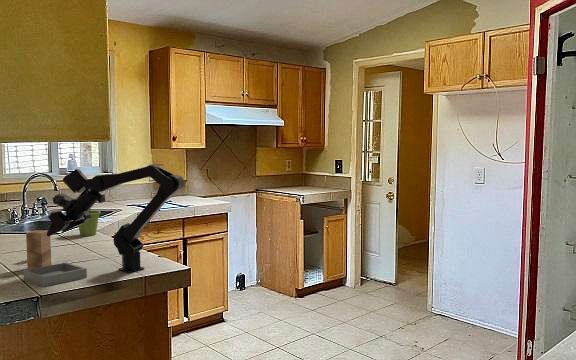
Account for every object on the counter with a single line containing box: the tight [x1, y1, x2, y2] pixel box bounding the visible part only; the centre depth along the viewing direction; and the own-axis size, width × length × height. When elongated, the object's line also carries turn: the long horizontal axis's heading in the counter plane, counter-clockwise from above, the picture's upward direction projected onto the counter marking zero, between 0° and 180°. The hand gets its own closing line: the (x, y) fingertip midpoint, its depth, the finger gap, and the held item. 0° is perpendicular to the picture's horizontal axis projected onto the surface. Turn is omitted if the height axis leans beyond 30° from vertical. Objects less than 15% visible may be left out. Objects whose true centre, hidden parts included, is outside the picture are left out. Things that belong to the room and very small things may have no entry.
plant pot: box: [77, 210, 101, 237], centre depth 240 cm, size 12×12×11 cm
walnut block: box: [25, 229, 52, 269], centre depth 175 cm, size 6×6×13 cm
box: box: [23, 261, 88, 288], centre depth 161 cm, size 14×14×3 cm
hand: (55, 233), depth 173 cm, fingers open, 9 cm apart
